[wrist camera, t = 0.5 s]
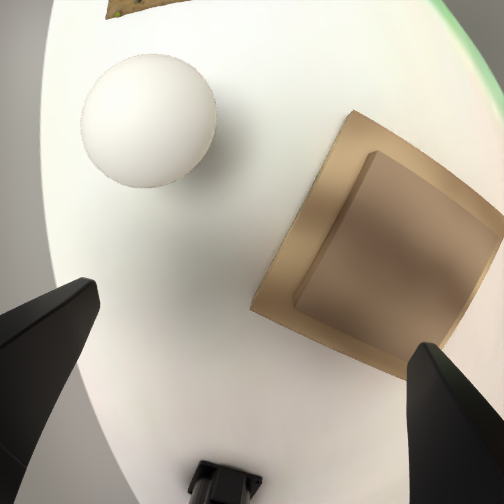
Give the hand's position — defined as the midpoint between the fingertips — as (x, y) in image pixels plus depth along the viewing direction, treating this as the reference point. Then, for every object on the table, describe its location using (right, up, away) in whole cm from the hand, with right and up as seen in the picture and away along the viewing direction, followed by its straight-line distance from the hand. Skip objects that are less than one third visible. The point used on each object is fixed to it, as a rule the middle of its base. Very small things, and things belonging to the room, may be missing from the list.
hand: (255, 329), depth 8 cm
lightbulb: (-4, +9, +13) cm, 16 cm away
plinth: (+9, +2, +13) cm, 16 cm away
